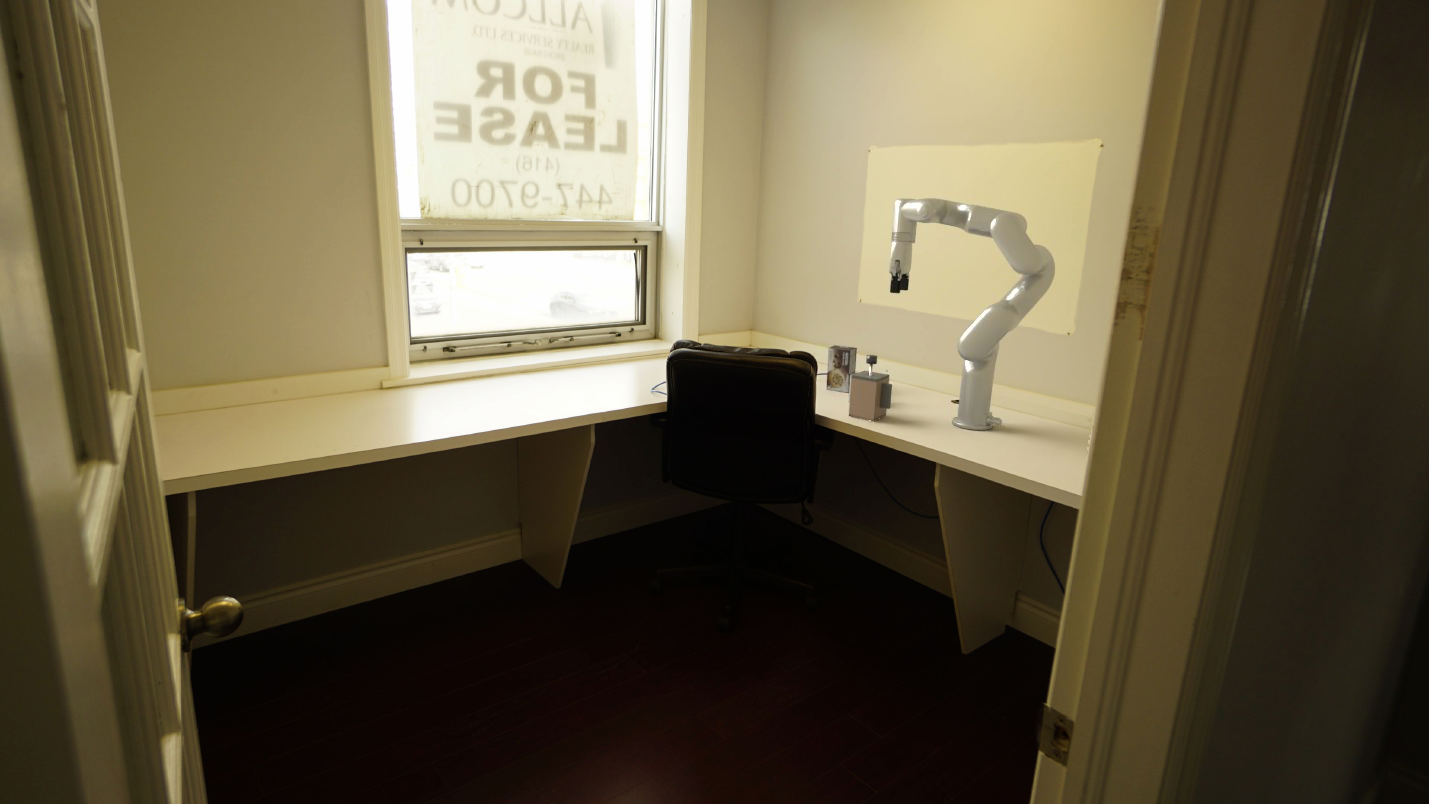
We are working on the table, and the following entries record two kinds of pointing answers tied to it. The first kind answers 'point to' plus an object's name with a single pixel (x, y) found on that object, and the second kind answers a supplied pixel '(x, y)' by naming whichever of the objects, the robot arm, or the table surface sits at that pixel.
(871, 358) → the lever with black knob
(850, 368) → the coffee box
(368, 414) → the table surface
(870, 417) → the tan lever base
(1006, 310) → the robot arm
